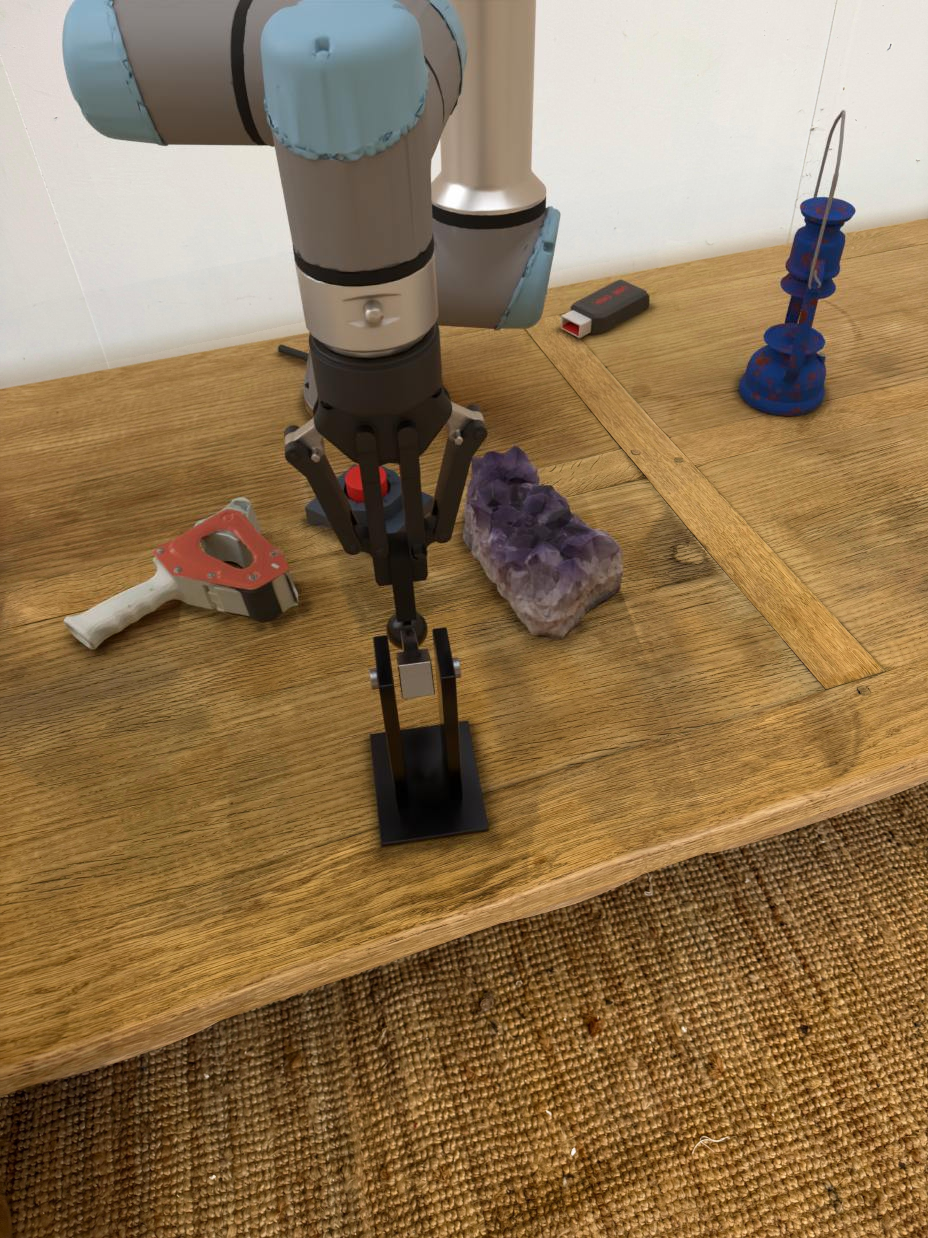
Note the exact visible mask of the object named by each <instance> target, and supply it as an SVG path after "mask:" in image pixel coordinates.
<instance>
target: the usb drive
mask: <svg viewBox="0 0 928 1238" xmlns="http://www.w3.org/2000/svg"><path fill="white" fill-rule="evenodd" d="M649 307H650V295H649V293H648V292H647V290H645V289H643V288H641V287H639V286H637V285H635V284H633V283H631V282H628V281H626V280H623V279H618V280H615V281H613V282H611V283H609V284H607V285H606V286H603V287H601V288H599V289H598V290H596V291H594V292H592V293H590V294H588V295H586V296H584V297H582V298H580V299H579V300H577V301H575V302H573V303H572V304H571V306H570V310H569V311H568V312H566V313H564V314H562V315H561V316H560V329H561V330H562V331H565V332H567V333H569V334H571V335H572V336H575V337H576V338H578V339H581V338H583V337H585V336H587V335H588V334H590V335H592V336H595V335H602V334H604V333H606V332H607V331H610V330H611V329H613V328H615V327H617V326H619V325H621V324H622V323H624V322H626V321H628V320H630V319H632V318H633V317H635V316H637V315H638V314H641V313H642V312H644V311H646V310H647V309H649Z"/></svg>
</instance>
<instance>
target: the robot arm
mask: <svg viewBox="0 0 928 1238" xmlns="http://www.w3.org/2000/svg"><path fill="white" fill-rule="evenodd" d="M536 14H537V0H73V2H71V4H70V6H69V7H68V10H67V12H66V14H65V17H64V20H63V24H62V25H63V26H62V39H61V40H62V41H61V47H62V49H61V51H62V59H63V60H62V61H63V66H64V71H65V76H66V79H67V83H68V86H69V90H70V92H71V95H72V97H73V99H74V101H75V102H76V104H77V105H78V107H79V108H80V112H81V114H82V116H83V117H84V119H85V120H86V122H87V123H88V124H89V125H90V126H91V127H92V128H93V129H94V130H95V131H96V132H98V133H99V134H100V135H102V136H103V137H105V138H108V139H111V140H118V141H125V142H134V143H143V144H144V143H145V144H153V145H158V146H160V147H168V146H169V145H170V146H177V145H178V146H246V147H247V146H250V147H251V146H253V147H257V146H259V147H262V146H263V147H266V146H268V147H272V148H274V152H275V156H276V161H277V162H276V163H277V169H278V173H279V178H280V184H281V188H282V195H283V199H284V205H285V211H286V215H287V221H288V226H289V232H290V239H291V243H292V251H293V259H294V260H293V261H294V265H295V271H296V276H297V283H298V289H299V294H300V300H301V305H302V311H303V317H304V322H305V327H306V330H308V332H309V335H308V345H309V346H308V347H309V351H308V352H305V351H302V350H300V349H296V348H293V347H291V346H287V345H285V344H278V346H277V351H278V353H281V354H284V355H287V356H290V357H293V358H295V359H298V360H301V361H303V362H306V367H305V375H304V378H303V383H302V395H303V400H304V405H305V409H306V411H307V413H308V415H309V416H310V417H311V419H309V420H308V421H307V422H305V423H304V424H303V425H301V426H299V425H296V424H291V425H288V426H287V427H285V429H284V431H283V440H284V442H283V443H284V459H285V460H286V461H287V463H288V464H290V465H291V466H292V467H293V468H294V469H295V470H297V471H298V472H299V473H300V474H301V475H302V476H303V477H305V479H306V480H307V482H308V484H309V486H310V488H311V489H312V491H313V494H314V496H315V498H316V497H317V499H318V501H319V503H320V505H321V507H322V509H323V511H324V512H325V514H326V516H327V518H328V520H329V522H330V524H331V526H332V528H333V529H332V530H333V531H334V533H335V535H336V537H337V539H338V541H339V543H340V545H341V547H342V548H343V551H344V553H346V554H347V555H349V556H356V555H359V554H360V553H366V554H368V555H370V556H371V559H372V565H373V572H374V581H375V583H376V584H377V586H378V587H386V586H391V587H392V594H393V595H392V596H393V602H394V609H395V613H396V617H397V622H405V621H412V620H417V615H416V611H417V605H416V596H415V587H414V586H415V585H414V582H423V581H426V580H427V579H428V577H429V568H428V554H429V553H428V547H429V546H430V545H432V544H434V543H438V544H446V543H448V542H450V541H451V539H452V537H453V533H454V530H455V525H456V522H457V518H458V514H459V511H460V506H461V502H462V499H463V494H464V490H465V486H466V484H467V479H468V475H469V471H470V469H471V463H472V458H474V456H475V454H476V453H477V451H478V450H479V449H480V448H481V446H482V445H483V443H484V442H485V440H486V439H487V438H488V429H487V425H486V422H485V418H484V414H483V410H482V408H481V406H480V405H478V404H475V403H472V404H468V405H466V406H465V407H464V406H462V405H459V404H457V403H455V402H453V401H451V395H450V393H449V390H448V388H446V386H445V385H444V383H443V369H442V368H443V367H442V351H441V350H442V348H441V331H440V327H454V328H455V327H456V328H473V329H489V330H493V331H495V332H496V331H500V330H512V329H513V330H526V329H530V328H533V327H534V326H536V325H537V324H538V323H539V322H540V320H541V319H542V316H543V313H544V308H545V304H546V298H547V293H548V289H549V284H550V283H549V282H550V278H551V271H552V266H553V260H554V256H555V249H556V244H557V240H558V232H559V226H560V221H561V211H560V210H559V209H557V208H554V206H551V205H550V206H547V186H546V185H545V184H544V183H543V182H542V180H541V179H540V178H539V177H538V176H537V175H536V173H535V172H533V169H532V163H533V161H532V160H533V159H532V158H533V129H534V128H533V124H534V122H533V121H534V119H533V118H534V94H535V93H534V90H535V58H536V57H535V52H536V23H537V22H536V21H537V20H536V17H537V15H536ZM438 145H439V146H440V147H439V148H440V172H439V174H437V176H436V177H435V178H434V179H433V180H432V161H433V160H432V159H433V157H434V155H435V153H436V150H437V147H438ZM444 426H445V430H446V434H447V438H446V442H445V448H444V450H443V451H444V452H443V456H442V460H441V465H440V469H439V472H438V477H437V482H436V487H435V490H434V494H433V503H432V507H431V512H429V515H427V516H424V514H423V502H422V492H423V491H422V480H421V479H422V478H421V476H422V475H421V462H420V457H421V456H422V455H423V454H424V453H425V452H426V451H427V450H428V448H429V447H430V446H431V444H432V443H433V441H434V440H435V439H436V437H437V436H438V435H439V433H440V432H441V431H442V430H443V428H444ZM325 440H326V441H327V442H329V443H330V444H331V445H332V446H334V447H335V448H336V450H338V451H339V452H341V453H342V454H343V455H344V456H345V457H346V458H348V459H349V460H350V461H351V462H353V463H354V464H356V465H359V467H360V474H361V482H362V488H363V495H364V502H365V510H366V517H367V524H368V526H366V525H359V522H358V520H357V518H356V516H355V514H354V512H353V510H352V508H351V506H350V504H349V502H348V500H347V498H346V496H345V494H344V492H343V490H342V488H341V486H340V484H339V482H338V480H337V478H338V477H337V475H336V473H335V472H334V469H333V468H332V466H331V464H330V461H329V459H328V457H327V456H326V449H325V448H326V447H325ZM388 464H394V465H395V464H396V465H398V470H399V477H400V480H401V490H402V499H403V508H404V518H405V526H406V531H403V532H395V533H387V531H386V522H385V514H384V506H383V497H382V489H381V480H380V472H379V466H384V465H388Z"/></svg>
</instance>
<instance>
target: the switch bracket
mask: <svg viewBox="0 0 928 1238" xmlns="http://www.w3.org/2000/svg"><path fill="white" fill-rule="evenodd" d="M431 631H432V633H431V635H432V646H433V657H434V669H435V681H436V693H437V695H436V696H437V705H438V706H437V707H438V718H439V719H438V720H439V723H438V724H433V725H426V726H425V725H424V726H418V727H411V728H404V729H401V724H400V716H399V709H398V702H397V694H396V687H395V680H394V673H393V671H394V670H393V665H392V657H391V650H390V641H389V639H388V636H387V634H383V635H377V636H375V635H374V636H373V637H372V643H373V652H374V659H375V660H374V661H375V667H374V668H369V669H368V670H369V679H370V680H369V681H370V686H371V690H374V691H375V690H378V693H379V694H378V695H379V700H380V706H381V714H382V719H383V725H384V731H382V732H376V733H375V732H374V733H370V734H369V742H370V751H371V761H372V772H373V781H374V790H375V791H374V792H375V801H376V811H377V821H378V831H379V832H378V833H379V841H380V847H381V848H385V847H391V846H392V847H393V846H398V845H405V844H411V843H420V842H426V841H432V840H433V841H434V840H440V839H445V838H453V837H458V836H460V837H461V836H465V835H466V836H467V835H473V834H478V833H484V832H485V833H487V832H489V831H490V827H489V821H488V816H487V813H486V812H487V811H486V806H485V801H484V796H483V791H482V785H481V781H480V775H479V770H478V764H477V761H476V760H477V759H476V754H475V748H474V743H473V738H472V734H471V730H470V729H471V728H470V722H469V720H461V721H459V705H458V689H457V679H461V678H462V669H461V663H460V658H459V657H458V656H457V657H456V656H455V657H453V654H452V646H451V642H450V637H449V632H448V631H449V630H448V628H447V627H445V626H444V627H436V628H432V630H431Z"/></svg>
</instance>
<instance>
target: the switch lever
mask: <svg viewBox="0 0 928 1238" xmlns="http://www.w3.org/2000/svg"><path fill="white" fill-rule="evenodd" d="M416 615H417V620H412V621H405V622H397V617H396V612H394V613H393V614H392V615H391V616H390V617H389V619H388V621H387V622H386V627H385V628H386V629H385V631H386V632H385V633H386V635H387V636H388V642H389V644H391V645H392V646H393V647H394V648H395V649H398V650H400V651H398V652H395V654H396V655H395V657H396V664H397V671H398V679H399V686H400V694H401V699H402V700H408V699H415V698H422V697H430V696H435V695H436V690H435V681H434V672H433V664H432V659H431V655H430V651H429V650H430V649H429V648H421V649H420V647H421V646H422V645H423V644H424V643H425V641H426V639H427V637H428V632H429V627H428V622H427V620H426V619H425V617H424V616H423V615H422V614H421V613H420V612H418V611H417V610H416Z"/></svg>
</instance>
